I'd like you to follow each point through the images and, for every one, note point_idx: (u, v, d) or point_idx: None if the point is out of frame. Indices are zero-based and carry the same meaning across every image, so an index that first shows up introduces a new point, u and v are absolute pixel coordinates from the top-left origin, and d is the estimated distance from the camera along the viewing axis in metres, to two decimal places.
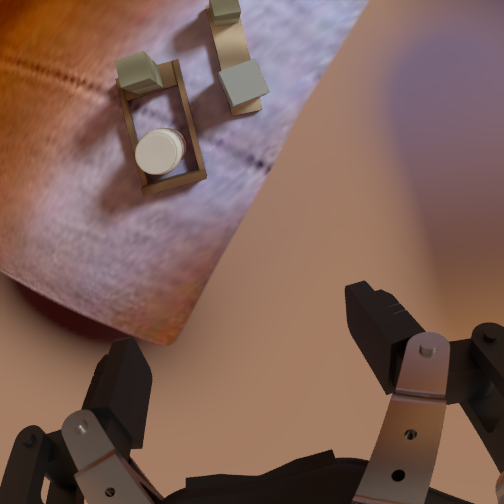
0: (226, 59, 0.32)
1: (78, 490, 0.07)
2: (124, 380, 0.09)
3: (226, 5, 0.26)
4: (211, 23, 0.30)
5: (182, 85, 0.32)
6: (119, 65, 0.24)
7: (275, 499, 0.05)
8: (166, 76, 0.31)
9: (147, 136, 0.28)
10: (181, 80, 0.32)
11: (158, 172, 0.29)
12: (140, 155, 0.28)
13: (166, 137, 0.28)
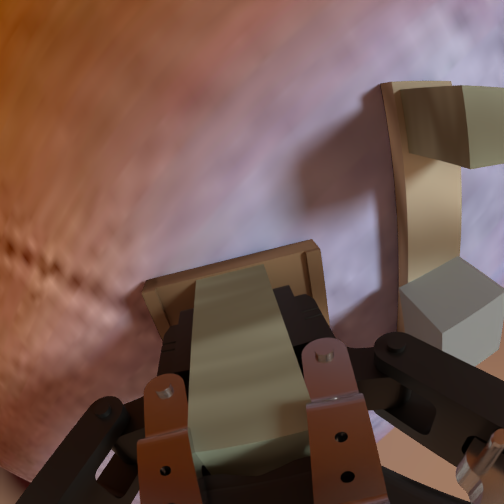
0: (421, 246, 0.14)
1: None
2: None
3: (494, 135, 0.08)
4: (403, 141, 0.12)
5: (325, 316, 0.14)
6: (212, 463, 0.06)
7: (275, 499, 0.05)
8: None
9: None
10: (324, 305, 0.14)
11: None
12: None
13: None
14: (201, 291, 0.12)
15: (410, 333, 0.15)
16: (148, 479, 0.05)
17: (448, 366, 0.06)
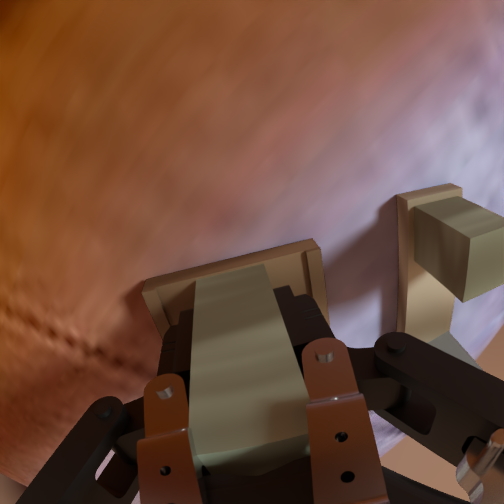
0: (416, 329, 0.16)
1: None
2: None
3: (490, 269, 0.10)
4: (410, 252, 0.14)
5: (325, 315, 0.14)
6: (213, 466, 0.06)
7: (275, 499, 0.05)
8: None
9: None
10: (324, 304, 0.14)
11: None
12: None
13: None
14: (201, 291, 0.12)
15: None
16: (148, 479, 0.05)
17: (448, 366, 0.06)
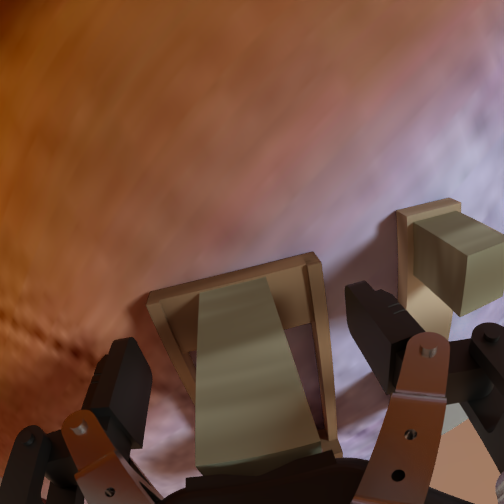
0: None
1: (78, 490, 0.07)
2: (125, 379, 0.09)
3: (487, 284, 0.11)
4: (410, 266, 0.14)
5: (325, 326, 0.14)
6: None
7: (275, 499, 0.05)
8: (287, 304, 0.14)
9: None
10: (325, 316, 0.14)
11: None
12: None
13: None
14: (205, 305, 0.12)
15: None
16: None
17: None
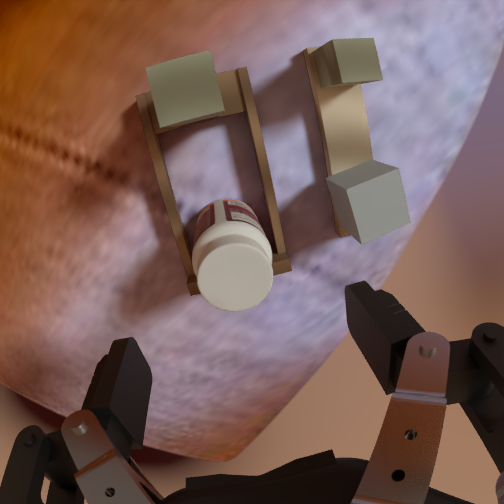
0: (338, 149, 0.22)
1: (78, 490, 0.07)
2: (125, 380, 0.09)
3: (360, 64, 0.16)
4: (316, 81, 0.20)
5: (255, 114, 0.20)
6: (156, 77, 0.12)
7: (275, 499, 0.05)
8: (226, 96, 0.19)
9: (220, 249, 0.16)
10: (253, 105, 0.20)
11: (240, 308, 0.17)
12: (207, 282, 0.17)
13: (257, 251, 0.16)
14: None
15: (339, 212, 0.23)
16: None
17: None
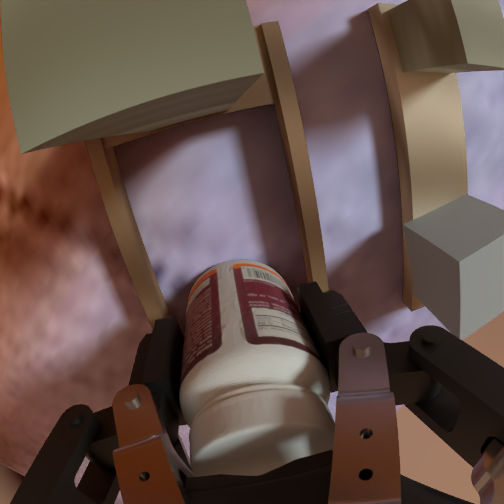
0: (425, 176, 0.12)
1: None
2: (172, 356, 0.10)
3: (488, 36, 0.06)
4: (395, 60, 0.10)
5: (294, 109, 0.10)
6: None
7: (275, 499, 0.05)
8: None
9: (240, 435, 0.06)
10: (291, 92, 0.10)
11: None
12: (213, 472, 0.07)
13: (318, 430, 0.07)
14: None
15: (419, 280, 0.13)
16: (129, 486, 0.05)
17: (477, 364, 0.06)
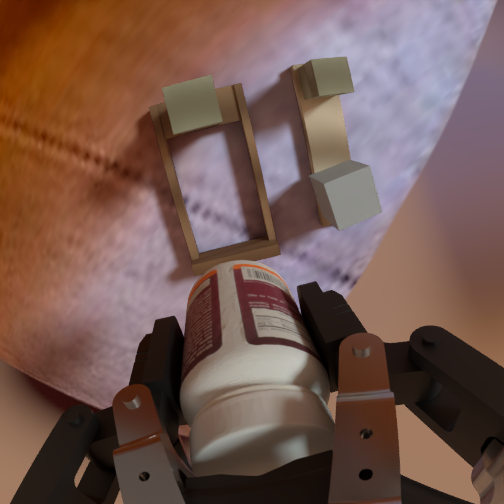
0: (319, 150, 0.26)
1: None
2: (172, 356, 0.10)
3: (335, 79, 0.20)
4: (300, 94, 0.24)
5: (248, 122, 0.24)
6: (171, 95, 0.16)
7: (275, 499, 0.05)
8: (224, 107, 0.24)
9: (240, 435, 0.06)
10: (247, 115, 0.24)
11: None
12: (213, 472, 0.07)
13: (318, 430, 0.07)
14: None
15: (321, 205, 0.27)
16: (129, 486, 0.05)
17: (478, 364, 0.06)
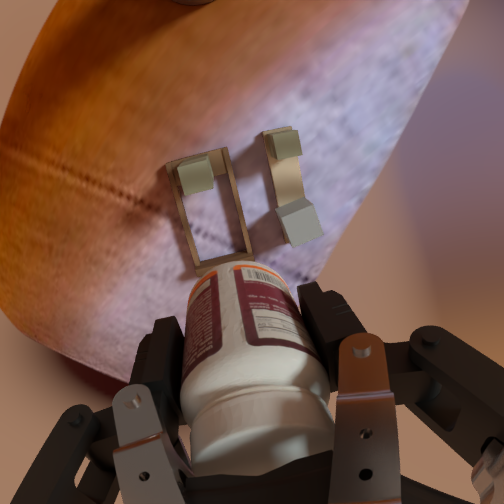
0: (282, 191, 0.39)
1: None
2: (172, 356, 0.10)
3: (288, 147, 0.33)
4: (268, 152, 0.37)
5: (232, 174, 0.37)
6: (182, 172, 0.29)
7: (275, 499, 0.05)
8: (216, 164, 0.37)
9: (240, 436, 0.06)
10: (231, 169, 0.37)
11: None
12: (213, 473, 0.07)
13: (318, 431, 0.07)
14: (185, 159, 0.35)
15: (283, 229, 0.40)
16: (129, 486, 0.05)
17: (477, 364, 0.06)
